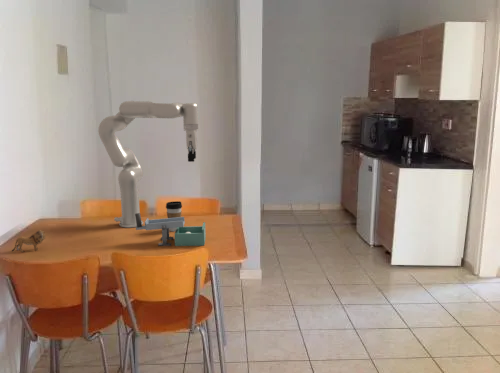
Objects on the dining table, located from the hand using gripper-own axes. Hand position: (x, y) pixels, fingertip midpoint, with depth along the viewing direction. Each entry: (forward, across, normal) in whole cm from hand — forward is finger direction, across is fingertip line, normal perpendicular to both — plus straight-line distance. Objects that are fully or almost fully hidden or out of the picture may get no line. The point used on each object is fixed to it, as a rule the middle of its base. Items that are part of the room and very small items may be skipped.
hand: (192, 160), depth 250 cm
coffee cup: (+37, -6, +10) cm, 38 cm away
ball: (+33, -26, +1) cm, 42 cm away
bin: (+36, -26, 0) cm, 45 cm away
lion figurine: (+36, -34, +73) cm, 89 cm away
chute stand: (+36, -26, +12) cm, 46 cm away
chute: (+29, -26, +14) cm, 41 cm away
